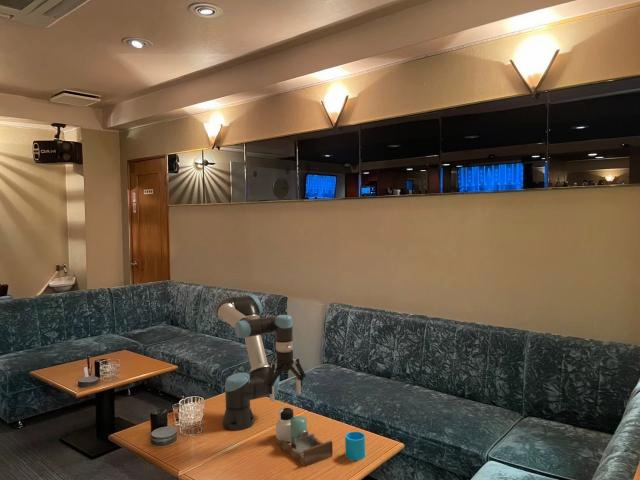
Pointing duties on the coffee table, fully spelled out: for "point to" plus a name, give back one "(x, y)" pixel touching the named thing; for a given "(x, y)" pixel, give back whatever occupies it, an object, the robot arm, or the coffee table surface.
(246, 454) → the coffee table surface
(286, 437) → the container
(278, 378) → the robot arm
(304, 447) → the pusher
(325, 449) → the frame
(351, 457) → the mug
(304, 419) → the capsule
